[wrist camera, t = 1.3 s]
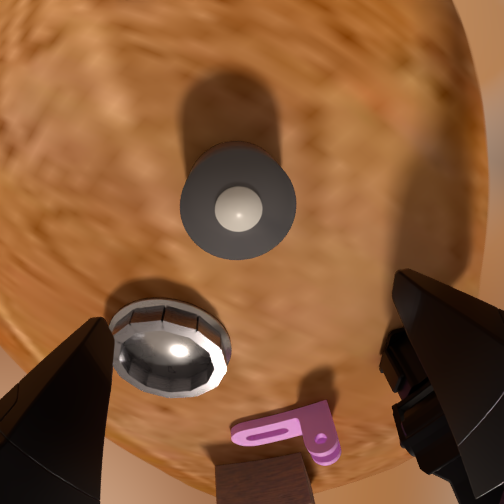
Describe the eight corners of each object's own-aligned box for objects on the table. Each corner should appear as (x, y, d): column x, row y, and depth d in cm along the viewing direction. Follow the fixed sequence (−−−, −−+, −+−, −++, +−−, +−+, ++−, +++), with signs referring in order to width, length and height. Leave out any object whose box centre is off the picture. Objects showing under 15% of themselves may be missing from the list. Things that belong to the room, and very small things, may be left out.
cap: (277, 135, 17) (292, 144, 13) (285, 223, 20) (300, 252, 16) (180, 149, 17) (168, 162, 13) (197, 236, 20) (192, 269, 16)
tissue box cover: (310, 483, 52) (318, 518, 43) (250, 494, 52) (254, 528, 43) (300, 450, 39) (311, 503, 30) (214, 464, 40) (217, 515, 31)
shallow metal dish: (218, 288, 22) (217, 306, 20) (240, 378, 27) (241, 395, 26) (88, 305, 22) (80, 321, 20) (135, 386, 27) (132, 402, 25)
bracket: (326, 398, 31) (340, 447, 25) (331, 416, 34) (344, 460, 28) (224, 424, 32) (226, 472, 26) (239, 440, 35) (243, 483, 29)
